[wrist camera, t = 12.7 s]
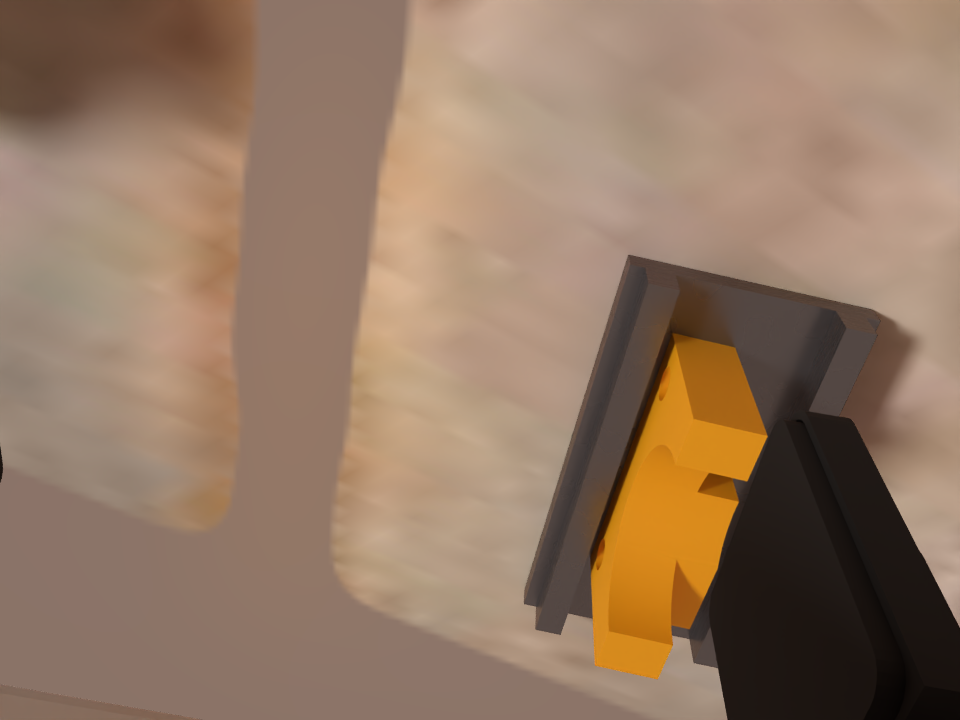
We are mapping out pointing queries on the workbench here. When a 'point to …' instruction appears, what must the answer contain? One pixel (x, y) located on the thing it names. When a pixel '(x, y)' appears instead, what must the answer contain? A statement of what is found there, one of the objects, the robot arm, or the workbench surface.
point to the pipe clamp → (672, 504)
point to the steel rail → (628, 383)
